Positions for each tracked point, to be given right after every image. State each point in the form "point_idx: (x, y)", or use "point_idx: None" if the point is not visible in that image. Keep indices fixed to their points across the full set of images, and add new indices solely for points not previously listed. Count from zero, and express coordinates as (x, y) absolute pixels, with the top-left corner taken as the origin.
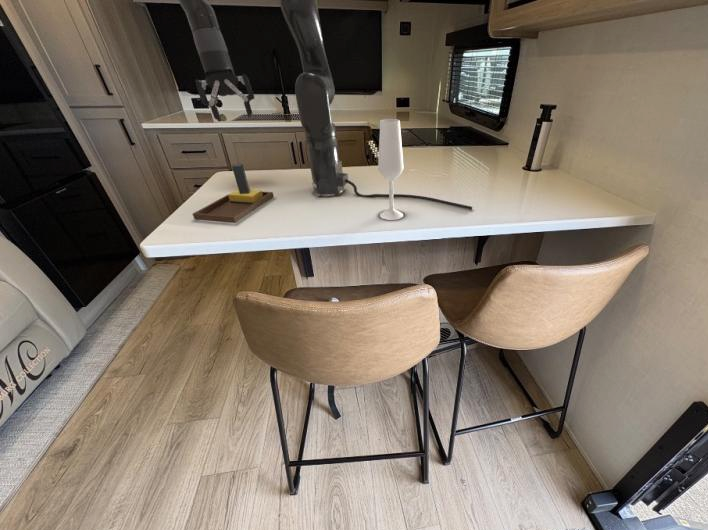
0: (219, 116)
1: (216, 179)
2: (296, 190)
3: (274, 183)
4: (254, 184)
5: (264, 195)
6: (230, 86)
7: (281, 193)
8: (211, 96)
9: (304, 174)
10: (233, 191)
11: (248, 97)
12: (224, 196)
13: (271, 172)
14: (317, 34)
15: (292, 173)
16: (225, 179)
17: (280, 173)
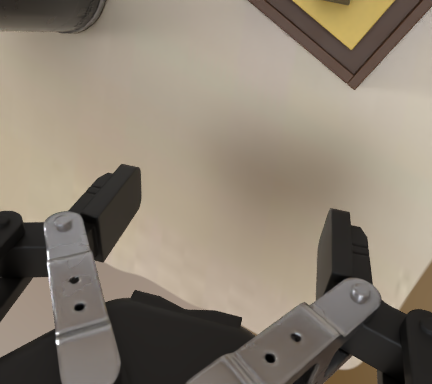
0: (323, 244)
1: None
2: (157, 55)
3: (214, 170)
4: (277, 194)
5: (268, 2)
6: (95, 322)
7: (208, 45)
8: (337, 332)
9: None
10: (378, 18)
11: (35, 236)
12: (420, 15)
13: (206, 289)
14: None
15: (147, 243)
16: None
17: (181, 264)
